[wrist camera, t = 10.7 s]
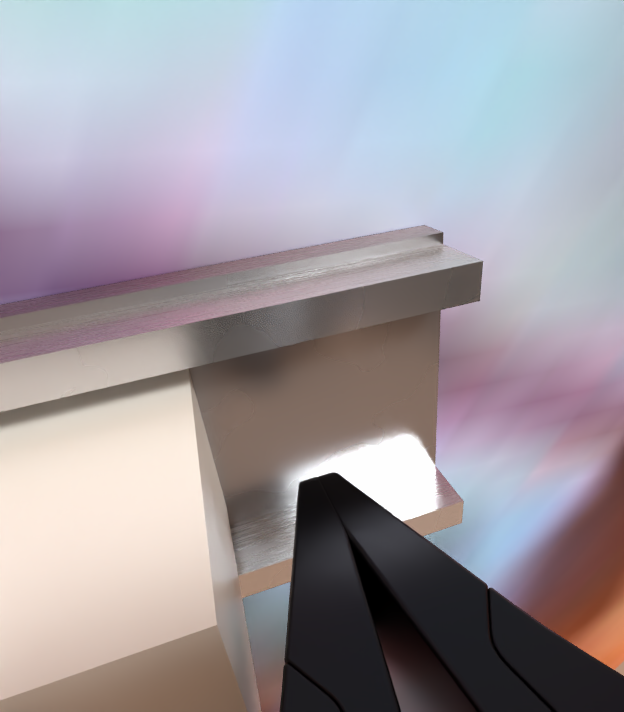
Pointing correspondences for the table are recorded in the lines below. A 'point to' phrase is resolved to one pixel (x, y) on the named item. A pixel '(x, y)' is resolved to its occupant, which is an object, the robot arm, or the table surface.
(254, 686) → the block
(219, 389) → the rail
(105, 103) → the table surface
